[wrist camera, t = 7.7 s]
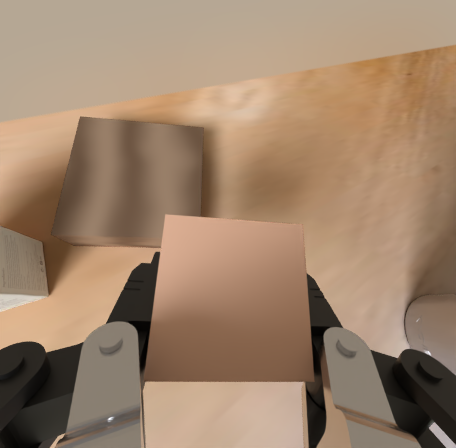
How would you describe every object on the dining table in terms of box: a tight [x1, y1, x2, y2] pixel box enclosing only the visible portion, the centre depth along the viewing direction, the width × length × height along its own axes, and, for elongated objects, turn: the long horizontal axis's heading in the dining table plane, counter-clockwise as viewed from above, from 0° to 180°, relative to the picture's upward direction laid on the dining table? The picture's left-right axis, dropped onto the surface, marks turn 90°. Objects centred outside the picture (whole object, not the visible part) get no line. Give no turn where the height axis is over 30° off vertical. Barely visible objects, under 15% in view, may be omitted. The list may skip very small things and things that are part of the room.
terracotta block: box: [144, 214, 315, 382], centre depth 11 cm, size 4×4×9 cm
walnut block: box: [51, 117, 204, 248], centre depth 27 cm, size 14×14×5 cm
